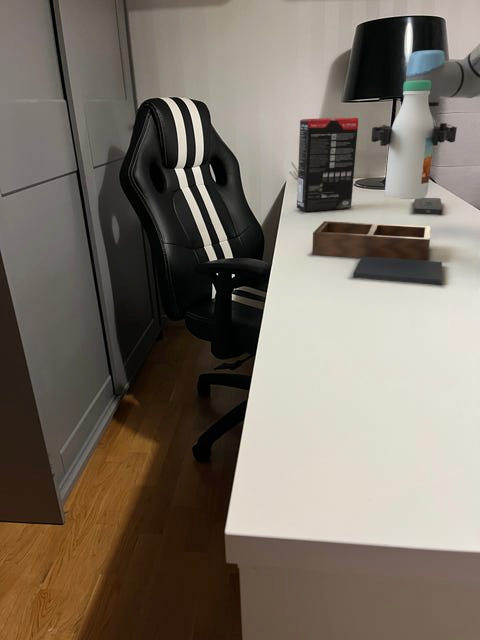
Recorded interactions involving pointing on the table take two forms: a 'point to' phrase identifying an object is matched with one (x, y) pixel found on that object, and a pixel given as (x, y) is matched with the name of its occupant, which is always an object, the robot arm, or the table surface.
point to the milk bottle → (411, 144)
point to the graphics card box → (326, 163)
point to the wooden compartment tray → (371, 240)
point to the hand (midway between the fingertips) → (410, 137)
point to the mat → (399, 270)
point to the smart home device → (427, 206)
